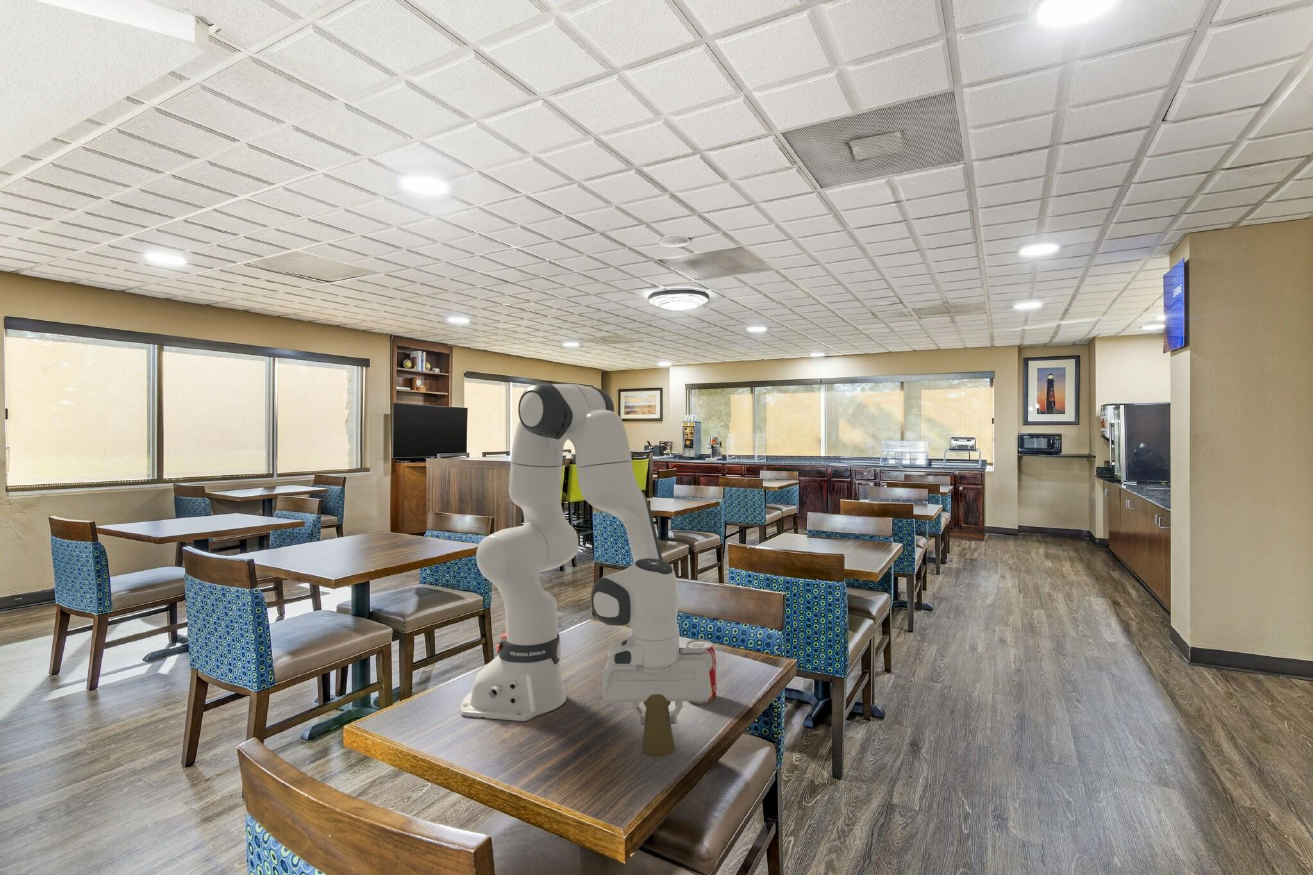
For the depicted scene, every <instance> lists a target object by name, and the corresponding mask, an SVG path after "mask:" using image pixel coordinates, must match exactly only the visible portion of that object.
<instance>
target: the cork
mask: <svg viewBox="0 0 1313 875" xmlns="http://www.w3.org/2000/svg"><path fill="white" fill-rule="evenodd" d="M671 702H672V701H667V699H666V698H665V697H664V696H663V695H660V694H654V695H650V696H649V697H648V698H647V700H646V702H643V705H644V706H645V711H646V720H645V721H646V724H645V725H644V729H643V737H642V748H641V750H642V752H643V754H645V755H646V756H649V757H654V758H662V757H666V756H669V755H671V754H672V753H674V750H675V742H674V735H673V734H674V733H673V729H672V724H670V723H669V721H670V720H669V711H670V709H669V706H670V705H671Z"/></svg>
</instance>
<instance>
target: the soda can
mask: <svg viewBox="0 0 1313 875" xmlns="http://www.w3.org/2000/svg"><path fill="white" fill-rule="evenodd" d="M685 648H704V650H707V651H708V652H710V654H711V655H712V668H711V670H710V671H709V676H710V682H711V693H712V695H711V697H710V698H709V699H708V700H707V701H690V702H692V703H693V704H698V705H706V704H708V703H711V702H712V701H713V700H715V699H716V697H717V662H716V661H717V657H716V655H717V654H716V650H715V649H714V647H713V643H712V642H711V641H709V640H706V639H693V640H690V641H688V642H686V647H685ZM704 653H706V652H704Z"/></svg>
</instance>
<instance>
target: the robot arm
mask: <svg viewBox="0 0 1313 875" xmlns="http://www.w3.org/2000/svg"><path fill="white" fill-rule="evenodd" d="M517 411H518V419H519V421H518V423H517V427H516V430H515V434H514V438H513V443H512V448H511V450H512V451H511V457H510V459H511V460H510V470H509V485H508V495H509V499H510V500H511V502H513V503H514V505H516V506H518V507H520V508H521V511H522V515H523V524H522V525H519V526H514V527H508V528H503V529H500V530H498V531H495V532H493V533H491V534H489V535H487V536H485V537H484V538H482V539H481V540H480V542H479V544H478V546H477V549H476V556H475V557H476V564H477V565H476V566H477V568H478V570H479V571H480V573H481V575H482V576H483V577H484V578H485V579H487V580H488V581H489V582H491V583H492V584H493V585H494V586H495V587H496V588H497V589H498V592H499V594H500V595H501V598H502V600H503V601H502V602H503V605H504V612H505V627H506V628H505V629H506V632H505V633H503V635H502V636H500V640H499V641H498V643H497V646H496V650H495V651H496V653H497V654H498V655H497V656H496V657H495V658H493V659H492V660H491V661H489V662H488V663H487V664H486V665H485V666H484V667H482V669H481V670H479V672H478V673H477V675H476V677H475V678H474V681H473V683H472V688H471V691H470V692H469V693H468V694H466V696H465V697H464V698H463V700H462V702H461V704H460V709H459V711H461V712H460V714H461V716H463V715H466V716H465V717H470V716H473V717H472V718H481V717H485V719H493V720H494V719H496V720H507V721H515V722H516V721H518V722H526V721H530V720H532V719H533V718H535V717H537V716H539V715H542V714H545V713H548V712H551V711H553V710H555V709H557V708H559V707H561V706H562V705H563V704H564V703H565V702H566V700H567V693H566V690H565V686H564V682H563V677H562V672H561V666H560V665H561V664H560V661H561V657H562V656H561V655H562V654H561V652H562V651H561V641H560V640H561V638H560V637H561V636H560V634H559V631H558V607H557V606H558V605H557V604H558V603H557V601H556V598H555V597H554V596H553V595H552V594H551V593H550V592H548V591H546V590H544V589H543V587H542V584H541V581H540V573H543V572H547V571H550V570H551V571H552V570H554V569H557V568H560V567H561V566H563V565H565V564H566V563H568V562H570V561H571V560H572V559H573V558H574V557H575V556H576V554H577V553H578V550H579V537H578V534H577V532H576V529H574V527H573V526H572V525H571V524H570V523H569V522H568V520H567V519H566V517H565V514H564V510H563V507H562V500H561V494H562V493H561V489H562V487H561V486H562V471H563V458H564V457H563V456H564V455H563V454H564V447H565V444H566V442H567V441H568V440H569V441H570V442H571V444H572V445H573V448H574V453H575V454H574V455H575V465H576V467H575V468H576V474H577V476H576V477H577V483H578V487H579V488H578V489H579V491H580V493H581V496H582V498H584V500H585V501H586V502H587V503H588V504H589V505H591V506H592V507H594V508H595V509H597V510H599V511H601V512H605V513H607V514H609V515H612V516H615V517H616V518H617V519H619V521H620V522H621V523H622V524H623V526H624V528H625V531H626V535H627V538H628V539H627V540H628V543H629V547H630V550H631V555H632V559H633V563H632V564H631V565H630V566H628V567H627V568H625V569H623V570H620V571H615V572H613V573H610V574H606V575H604V576H602V577H600V578H598V579H597V580H596V581H595V582H594V584H593V586H592V589H591V592H590V605H591V609H592V612H593V614H594V615H595V617H596V618H597V619H598V620H599V621H600V622H601V623H603V624H605V625H606V626H616V627H617V626H619V627H620V626H629V627H630V629H631V635H630V636H626V637H624V638H621V639H617V640H615V641H613V642H612V643H611V645H610V646H609V648H608V651H607V662H606V664H605V667H604V670H603V671H604V672H603V677H602V683H601V698H602V699H603V700H604V702H607V703H630V705H631V709H632V711H633V712H634V713H635V715H636V716H637V726H638V725H639V726H640V725H641V726H642V725H644V726H645V724H646V721H645V720H646V710H645V711H644V710H643V711H642V709H641V707H640V702H641V703H642V702H643V703H644V702H646V700H647V698H648V697H649V696H650V695H654V694H660V695H663V696H664V697H665V698H666V699H667V701H671V702H674V705H675V707H674V709H673V710H669V720H670V721H669V723H670V724H671V725H678V716H679V714H680V712H681V711H682V708H683V702H691V701H707V700H708V699H709V698H710V697H711V695H712V693H711V682H710V676H709V671H710V670H711V668H712V655H711V654H710V652H708V651H707V650H704V648H686V647H680V628H679V625H678V622H677V621H678V620H677V618H678V614H679V590H678V583H677V582H678V581H677V576H676V572H675V571H674V568H673V566H672V565H671V564H670V563H668V562H667V561H665V560H664V559H663V556H662V551H661V548H660V542H659V539H658V535H657V531H656V526H655V524H654V519H653V514H652V511H651V507H650V504H649V501H648V499H647V496H646V494H645V493H644V491H642V490H641V489H640V487H639V484H638V481H637V478H636V476H635V472H634V467H633V462H632V453H631V448H630V442H629V439H628V435H627V431H626V429H625V425H624V422H623V420H622V418H621V416H620V415H619V414H617V413H616V412H615V406H614V402H613V400H612V398H611V396H610V395H609V394H608V393H607V392H606V391H604V390H603V389H600V388H597V387H595V386H591V385H590V386H586V385H582V384H575V383H556V384H555V383H546V382H545V383H539V384H534V385H531V386H529V387H527V388H526V389H525V390H524V391H523V393H522V394H521V396H520V398H519V401H518V408H517ZM704 652H706V653H704Z"/></svg>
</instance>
